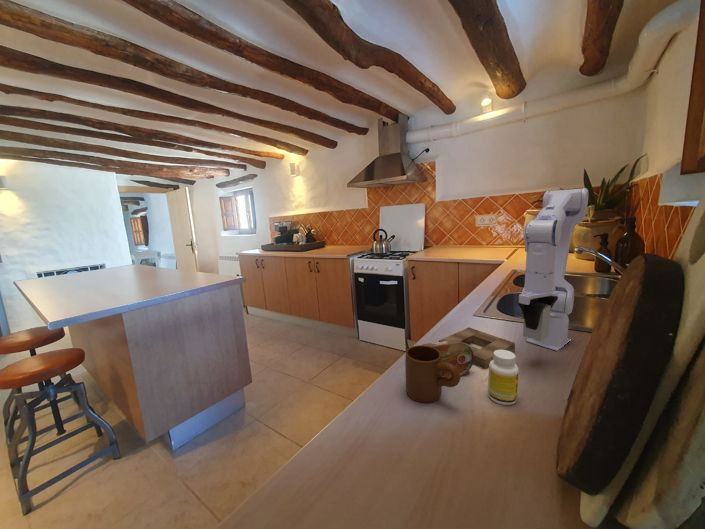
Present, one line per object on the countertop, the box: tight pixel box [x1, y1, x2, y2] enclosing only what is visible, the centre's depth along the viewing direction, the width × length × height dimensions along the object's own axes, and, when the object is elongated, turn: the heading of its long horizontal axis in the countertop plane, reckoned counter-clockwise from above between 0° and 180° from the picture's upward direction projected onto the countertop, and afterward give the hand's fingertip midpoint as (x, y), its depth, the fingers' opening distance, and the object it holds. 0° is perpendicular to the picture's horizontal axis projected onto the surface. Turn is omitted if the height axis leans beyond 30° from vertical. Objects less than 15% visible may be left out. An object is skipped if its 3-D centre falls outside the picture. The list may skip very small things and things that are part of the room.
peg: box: [522, 305, 551, 341], centre depth 70 cm, size 4×4×8 cm
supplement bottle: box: [487, 350, 520, 406], centre depth 59 cm, size 5×5×10 cm
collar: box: [438, 327, 516, 370], centre depth 80 cm, size 14×14×2 cm
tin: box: [422, 340, 474, 379], centre depth 68 cm, size 15×3×8 cm, turn 99°
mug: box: [404, 344, 461, 404], centre depth 61 cm, size 12×8×9 cm, turn 43°
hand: (535, 325), depth 70 cm, fingers closed on peg, 4 cm apart
